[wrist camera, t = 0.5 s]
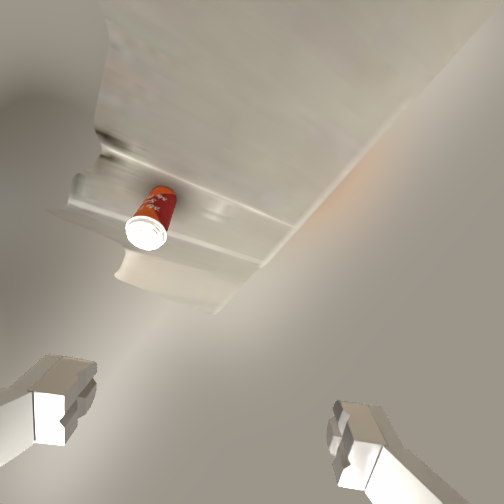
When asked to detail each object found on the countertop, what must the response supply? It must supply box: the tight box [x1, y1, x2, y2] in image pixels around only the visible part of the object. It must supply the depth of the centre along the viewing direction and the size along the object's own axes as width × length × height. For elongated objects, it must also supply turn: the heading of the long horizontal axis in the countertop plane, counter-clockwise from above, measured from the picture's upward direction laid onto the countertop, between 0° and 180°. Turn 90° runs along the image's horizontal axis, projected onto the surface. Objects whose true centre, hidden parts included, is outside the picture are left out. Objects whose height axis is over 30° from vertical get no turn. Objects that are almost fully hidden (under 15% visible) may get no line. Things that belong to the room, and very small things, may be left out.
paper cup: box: [126, 186, 176, 250], centre depth 61 cm, size 8×8×14 cm
